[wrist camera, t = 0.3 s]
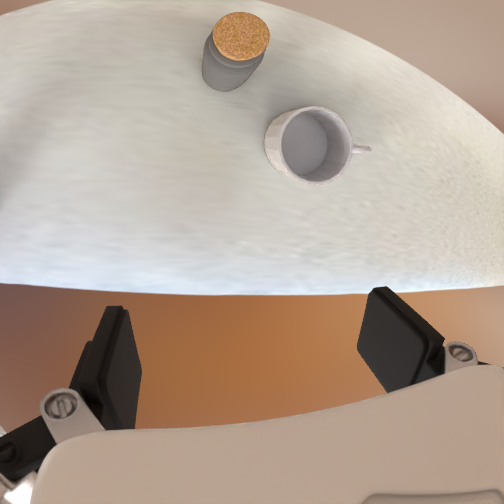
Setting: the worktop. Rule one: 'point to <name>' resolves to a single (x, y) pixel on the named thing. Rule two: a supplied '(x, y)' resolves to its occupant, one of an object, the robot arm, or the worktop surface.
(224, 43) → the bottle
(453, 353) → the robot arm
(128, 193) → the worktop surface
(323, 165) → the mug
